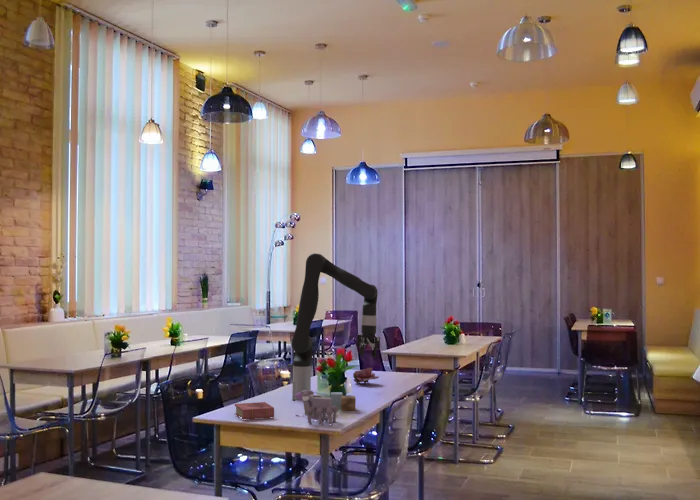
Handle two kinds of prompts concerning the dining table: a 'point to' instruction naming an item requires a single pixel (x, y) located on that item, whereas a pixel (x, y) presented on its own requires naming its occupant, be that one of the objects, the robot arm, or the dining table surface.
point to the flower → (364, 375)
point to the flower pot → (311, 406)
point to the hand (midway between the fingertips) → (368, 356)
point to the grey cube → (336, 398)
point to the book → (254, 410)
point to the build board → (344, 411)
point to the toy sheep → (317, 406)
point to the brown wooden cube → (348, 403)
